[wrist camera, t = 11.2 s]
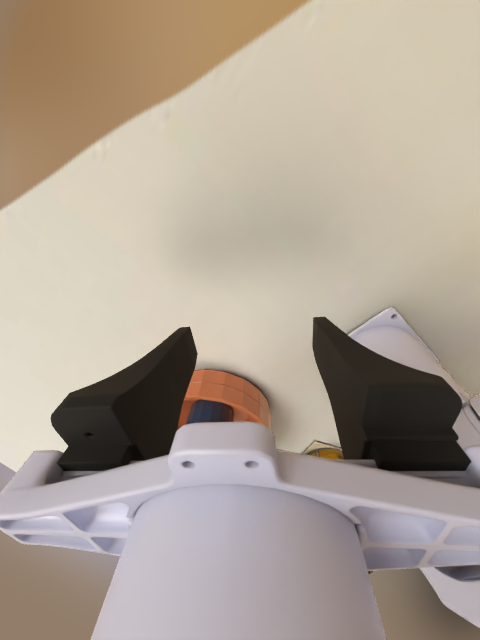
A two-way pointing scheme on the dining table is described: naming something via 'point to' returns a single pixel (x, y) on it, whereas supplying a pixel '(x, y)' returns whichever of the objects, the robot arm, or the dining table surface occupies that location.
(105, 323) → the dining table surface
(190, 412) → the cup
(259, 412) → the clay bowl
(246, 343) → the dining table surface
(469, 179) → the dining table surface
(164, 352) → the robot arm
